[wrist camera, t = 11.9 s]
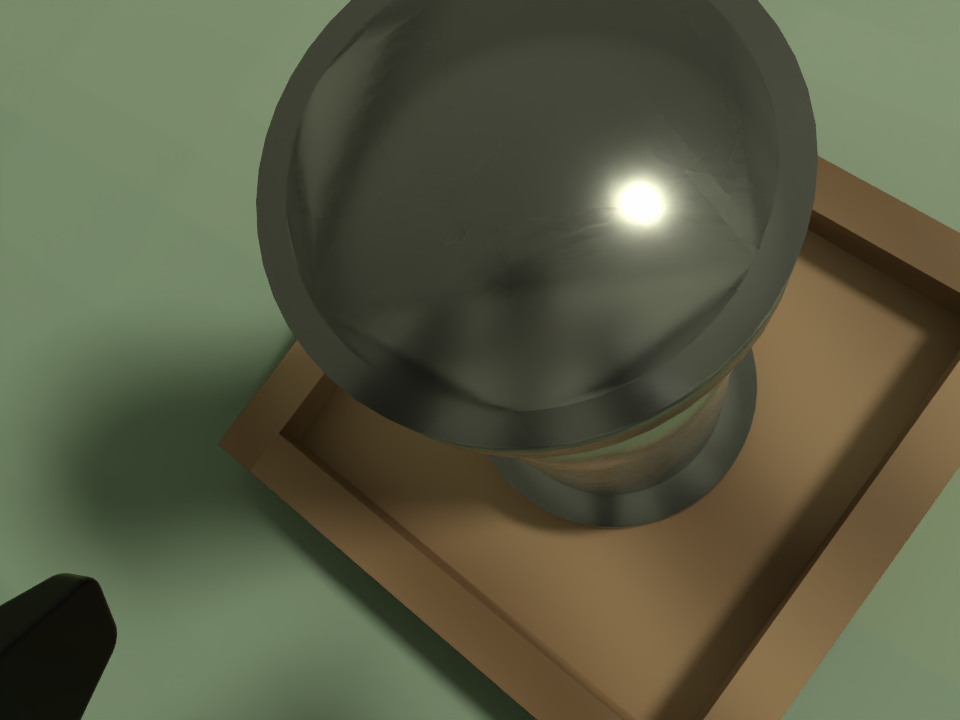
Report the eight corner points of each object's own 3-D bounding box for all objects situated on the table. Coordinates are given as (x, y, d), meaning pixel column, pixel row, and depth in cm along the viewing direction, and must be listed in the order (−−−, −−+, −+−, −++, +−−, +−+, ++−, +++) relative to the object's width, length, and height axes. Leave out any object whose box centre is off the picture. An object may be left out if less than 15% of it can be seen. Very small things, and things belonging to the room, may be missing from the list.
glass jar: (527, 564, 18) (304, 573, 7) (450, 317, 19) (176, 31, 9) (796, 476, 17) (980, 346, 7) (694, 226, 19) (708, -205, 8)
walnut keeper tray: (687, 826, 16) (687, 850, 15) (248, 451, 20) (218, 443, 19) (1047, 318, 17) (1078, 297, 16) (556, 44, 21) (547, 9, 19)
